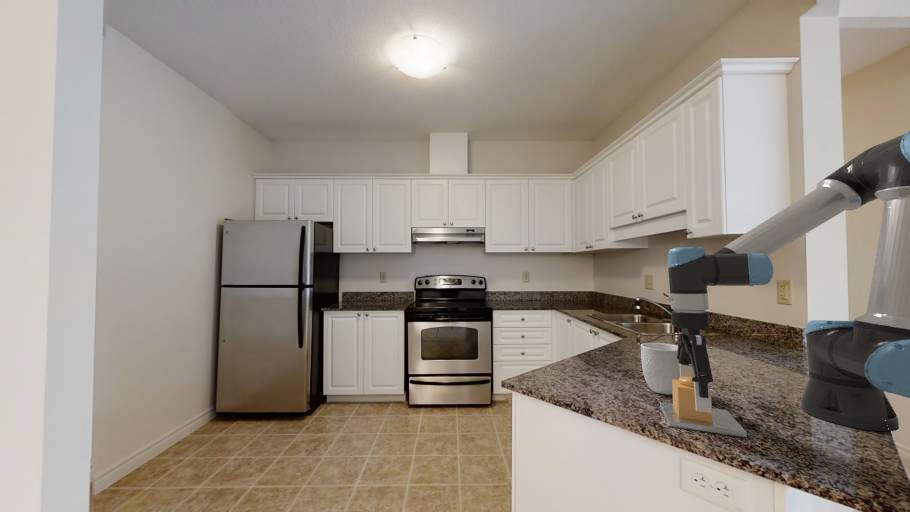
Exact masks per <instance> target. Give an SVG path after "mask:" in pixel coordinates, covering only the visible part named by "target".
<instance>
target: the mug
mask: <svg viewBox="0 0 910 512" xmlns="http://www.w3.org/2000/svg"><path fill="white" fill-rule="evenodd" d="M677 350H678V345H676V344H672V343H663V342H661V343H660V342H643V343H641V345H640V353H641V354H640V357H641V367H642V372H643V373H642V374H643V376H644V379H645V382H646V385H647V386H648V388H649V389H650V390H651V391H652V392H654V393H657V394H660V395H666V396H667V395H668V396H670V395H671V396H673V392H672V379H677V380H679V377H680V363H679V359H677ZM701 376H703V375H701Z"/></svg>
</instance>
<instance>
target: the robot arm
mask: <svg viewBox="0 0 910 512" xmlns="http://www.w3.org/2000/svg"><path fill="white" fill-rule="evenodd" d="M877 199H879V200H880V201H882V202H883V204H884V205H883V210H882V217H881V222H880V229H879V234H878V235H879V236H878V240H877V248H876V254H875V258H874V259H875V260H874V266H873V272H872V279H871V285H870V291H869V296H868V303H867V309H866V313H864V314H862V315H860V316H858V317H855V318H854V319H853V320H822V319H821V320H818V319H817V320H816V319H814V320H809V321H808V322H807V323H806V326H805V337H806V338H805V339H806V351H807V364H808V367H807V368H808V381H807V383H806V385H805V387H804V391H803V393H802V394H801V398H800V408H801V410H802V411H803V412H805V413H806V414H809V415H811V416H813V417H815V418H818V419H820V420H823V421H827V422H828V423H829V422H830V423H832V424H833V423H834V424H838V425H841V426H845V427H850V428H855V429H859V430H860V429H861V430H868V431H876V432H895V431H898V430H899V429H900V424H899V418H898V416H897V414H896V412H895V410H894V407H893V406H892V404H891V402H890V401H889V399H888V396H887V395H886V393H888V394H893V395H897V396H902V397H904V398H908V399H910V130H909V131H907V132H906V133H904V134H901V135H899V136H896V137H894V138H891V139H889V140H886V141H884V142H882V143H879V144H876V145H874V146H872V147H870V148H868V149H866V150H864V151H862V152H861V153H859V154H858V155H856V156H855V157H854V158H852V159H850V160H849V161H848V162H846V163H845V164H843V165H842V166H840V167H839V168H838V169H836V170H835V171H833V172H832V173H831V174H829V175H827V176H826V177H824V178H823V179H822V180H821V179H820V181H819V182H817V184H816V188H815V189H814V190H812V191H810V192H809V193H807V194H806V195H804V196H803V197H800V198H799V199H798V200H796V201H795V202H793V203H791V204H789V205H788V206H787V207H784V208H783V209H782V210H781V211H779V212H777V213H776V214H774V215H773V216H771V217H769V218H768V219H766V220H765V221H763V222H761V223H760V224H758V225H756V226H755V227H753V228H752V229H750V230H748V231H747V232H746V233H744V234H742V235H741V236H739V237H737V238H736V239H734V240H733V241H731V242H728V244H726V245H725V246H723V247H721V248H720V249H719V250H716V251H714V253H711V254H706V252H705V248H704V247H702V246H686V247H683V246H681V247H674V248H671V249H669V250H668V252H667V269H668V272H667V273H668V284H669V295H670V296H668V297H667V301H668V302H669V301H670V308H671V309H672V311H671V312H670V319H671V321H670V322H671V325H672V327H675V328H677V331H678V332H677V333H678V334H677V346H678V350H677V359H679V363H680V377H692V381H693V382H694V391H695V406H696V411H699V412H708V413H712V411H711V400H712V395H711V396H710V390H711V384H710V383H713V382H714V378H713V374H712V368H711V364H710V359H709V358H710V357H709V353H708V349H707V342H706V339H707V338H706V336H705V335H701V332H700V330H705V329H709V328H710V326H711V325H710V314H709V313H708V312H707V311H709V309H710V307H709V295H708V287H716V286H719V287H723V286H728V287H733V286H734V287H738V286H740V287H742V286H743V287H745V286H748V287H753V286H754V287H755V286H766V285H768V284H769V283H770V282H771V281H772V279H773V275H774V267H773V262H772V260H771V258H770V256H771V255H773V254H774V253H776V252H777V251H780V250H781V249H783V248H784V247H786V246H788V245H789V244H791V243H794V241H796V240H798V239H799V238H801V237H803V236H804V235H806V234H807V233H810V232H811V231H813V230H815V229H816V228H818V227H820V226H821V225H823V224H824V223H826V222H828V221H829V220H831V219H832V218H834V217H836V216H838V215H840V214H841V213H843V212H845V211H855V210H857V209H859V208H860V207H862V206H864V205H866V204H868V203H870V202H872V201H874V200H877ZM701 375H702V376H701ZM885 420H886V421H885ZM887 425H888V426H887ZM888 428H889V430H890V431H889V430H888Z"/></svg>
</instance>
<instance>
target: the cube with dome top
mask: <svg viewBox="0 0 910 512" xmlns="http://www.w3.org/2000/svg"><path fill="white" fill-rule="evenodd" d="M672 392H673V395H672V403H673V408H674V410H675V411H676V413H677V415H678V417H679V418H685V419H693V420H700V421H707V422H713V421H712V413H708V412H699V411H696V406H695V391H694V382H693V381H692V377H679V380H677V379H672ZM710 396H711V397H712V390H711V389H710ZM712 402H713V401H712V399H711V411H712V408H713V406H712V404H713V403H712Z"/></svg>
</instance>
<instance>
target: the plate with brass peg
mask: <svg viewBox="0 0 910 512" xmlns="http://www.w3.org/2000/svg"><path fill="white" fill-rule="evenodd" d="M659 408H660V409H661V411H662V414H663V415H664V418H665V420H666V422H667V424H668V425H669V427H673V428H679V429H686V430H693V431H700V432H706V433H713V434H718V435H719V434H720V435H728V436H735V437H741V438H747V437H748V436H747V435H748V434H747V431H746V430H745V429H744V428H743V426H742V425H741V424H740V423H739V422H738V421H737V420H736V419H735V418H734V417H733V416H732V414H730V412H728V411H727V410H726V409H720V408H714V407H712V421H713V422H707V421H700V420H693V419H685V418H679V417H678V415H677V413H676V411H675V410H674V408H673V402H663V401H659Z"/></svg>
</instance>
